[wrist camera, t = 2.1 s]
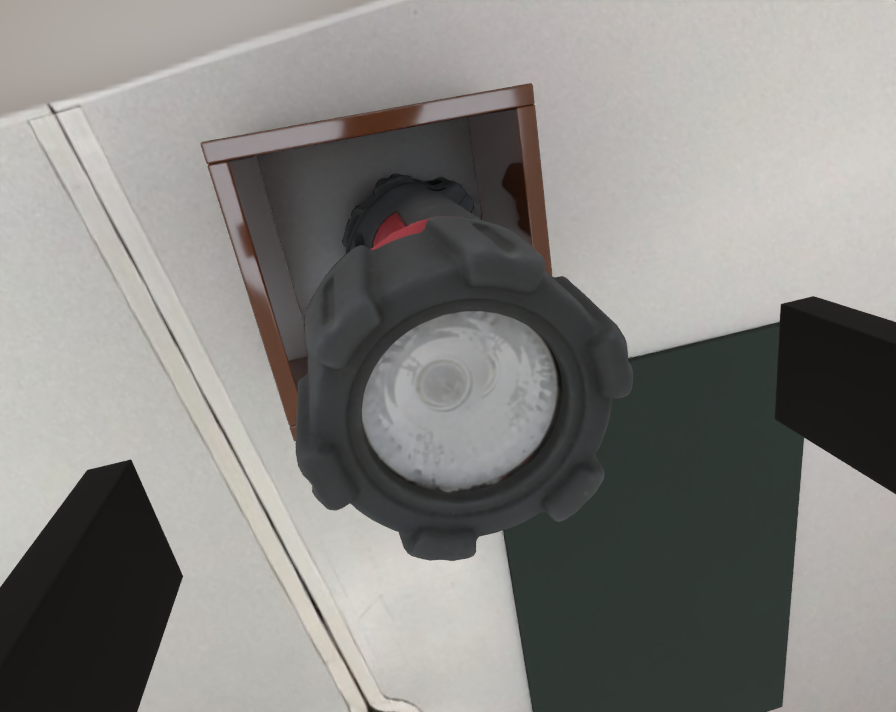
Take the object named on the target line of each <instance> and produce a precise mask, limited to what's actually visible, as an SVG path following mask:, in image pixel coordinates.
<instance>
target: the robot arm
mask: <svg viewBox="0 0 896 712" xmlns="http://www.w3.org/2000/svg"><path fill="white" fill-rule="evenodd" d="M775 420H777V421H778V422H780V423H782V424H783V425H785V426H786V427H788V428H790V429H791V430H793V431H795V432H796V433H798V434H799V435H801V436H803V437H804V438H806V439H807V440H809V441H811V442H812V443H814V444H816V445H817V446H819V447H820V448H822V449H824V450H825V451H827V452H828V453H830V454H832V455H833V456H835V457H837V458H838V459H840V460H841V461H843V462H845V463H846V464H848V465H849V466H851V467H853V468H854V469H856V470H858V471H859V472H861V473H862V474H864V475H866V476H867V477H869V478H870V479H872V480H874V481H875V482H877V483H879V484H880V485H882V486H883V487H885V488H887V489H888V490H890V491H892V492H893V493H895V494H896V322H894V321H891V320H887V319H884V318H881V317H878V316H875V315H871V314H868V313H865V312H862V311H859V310H856V309H852V308H849V307H846V306H843V305H840V304H837V303H833V302H830V301H827V300H824V299H821V298H817V297H814V296H813V297H809V298H805V299H800V300H796V301H792V302H788V303H784V304H781V312H780V330H779V349H778V368H777V386H776V405H775ZM182 578H183V575H182V573H181V570H180V568H179V566H178V564H177V561H176V559H175V557H174V555H173V553H172V550H171V548H170V546H169V544H168V541H167V539H166V537H165V535H164V532H163V530H162V528H161V526H160V523H159V521H158V519H157V517H156V514H155V512H154V510H153V508H152V505H151V503H150V501H149V499H148V496H147V494H146V492H145V490H144V487H143V485H142V483H141V481H140V478H139V476H138V474H137V472H136V469H135V467H134V465H133V463H132V460H127V461H123V462H119V463H115V464H111V465H107V466H102V467H98V468H94V469H90V470H87V471H86V472H85V474H84V475H83V477H82V478H81V479H80V481H79V482H78V483H77V485H76V486H75V487H74V489H73V490H72V491H71V493H70V494H69V495H68V497H67V498H66V499H65V501H64V502H63V503H62V505H61V506H60V508H59V509H58V510H57V512H56V513H55V514H54V516H53V517H52V518H51V520H50V521H49V522H48V524H47V525H46V526H45V528H44V529H43V530H42V532H41V533H40V534H39V536H38V537H37V538H36V540H35V541H34V543H33V544H32V545H31V547H30V548H29V549H28V551H27V552H26V553H25V555H24V556H23V557H22V559H21V560H20V561H19V563H18V564H17V565H16V567H15V568H14V569H13V571H12V572H11V574H10V575H9V576H8V578H7V579H6V580H5V582H4V583H3V584H2V586H1V587H0V712H137V711H138V708H139V705H140V702H141V699H142V696H143V693H144V690H145V687H146V684H147V681H148V678H149V675H150V672H151V669H152V666H153V663H154V660H155V657H156V654H157V652H158V649H159V646H160V643H161V640H162V637H163V634H164V631H165V628H166V625H167V622H168V619H169V616H170V613H171V610H172V607H173V604H174V601H175V598H176V595H177V592H178V590H179V587H180V584H181V581H182Z"/></svg>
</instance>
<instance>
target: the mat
mask: <svg viewBox="0 0 896 712" xmlns="http://www.w3.org/2000/svg"><path fill="white" fill-rule="evenodd" d="M779 330H780V323H775V324H771V325H767V326H763V327H759V328H755V329H751V330H747V331H742V332H738V333H734V334H730V335H726V336H722V337H718V338H714V339H709V340H705V341H701V342H697V343H693V344H689V345H685V346H680V347H676V348H672V349H668V350H664V351H660V352H656V353H652V354H647V355H643V356H639V357H635V358H631V359H628V362H629V363H630V365H631V366H632V369H633V385H632V389H631V391H630V393H629V394H628V395H627V396H625V397H623V398H618V399H615V398H612V406H611V413H610V418H609V421H608V425H607V429H606V432H605V434H604V437H603V440H602V442H601V445H600V447H599V449H598V450H597V452H596V454H595V455H596V456H597V458H598V460H599V462H600V463H601V465H602V467H603V469H604V479H603V481H602V483H601V485H600V486H599V488H598V489H597V491H596V492H595V493H594V495H593V496H592V497H591V498H590V499H589V500H587V501H586V502H585V503H584V504H583V506H582V507H581V508H580V509H579V510H578V511H577V512H576V513H575V514H573V515H572V516H570V517H568V518H567V519H565V520H563V521H560V522H557V521H554V520H553V519H552V518H551V517H550V515H549V514H548V513H546V512H540V513H538V514H537V515H535V516H533V517H532V518H530V519H528V520H527V521H525V522H523V523H520V524H518V525H516V526H514V527H511V528H508V529H505V530H503V531H504V538H505V544H506V550H507V556H508V562H509V568H510V574H511V580H512V586H513V593H514V599H515V605H516V611H517V617H518V623H519V629H520V635H521V641H522V648H523V654H524V660H525V666H526V672H527V678H528V684H529V690H530V696H531V703H532V709H533V712H767V711H770V710H774V709H777V708H780V707H782V703H783V691H784V678H785V666H786V654H787V641H788V629H789V616H790V604H791V592H792V579H793V567H794V555H795V542H796V530H797V517H798V505H799V493H800V480H801V468H802V456H803V443H804V437H803V436H801V435H799V434H798V433H796V432H795V431H793V430H791V429H790V428H788V427H786V426H785V425H783V424H782V423H780V422H778V421H777V420H775V405H776V386H777V368H778V349H779Z"/></svg>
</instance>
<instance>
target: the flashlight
mask: <svg viewBox="0 0 896 712" xmlns="http://www.w3.org/2000/svg"><path fill="white" fill-rule="evenodd" d="M473 207H474V201H473V199H472V198H471V197H470V196H469V195H468V193H467V192H466V191H465V189H464V188H463V187H462V185H460V184H459V183H457V182H454V181H450V180H447V179H445V178H443V177H439V178H437V179H434V180H432V181H428V182H422V181H420V180H417V179H414V178H412V177H411V176H408V175H401V174H397V173H396V174H391V175H390V176H389V177H388V178H386V179H385V178H382V179H380V180H379V181H378V182H377V183H376V187H375V190H374V193H373V194H372V195H371V196H370V197H369V198H368V199H367V201H366V202H365V203H364V204H363V205H362V206H356V207H355V208H354V209H353V210H352V214H351V218H350V219H349V220H348V222H347V226H346V230H345V234H344V237H343V240H342V243H343V245H344V246H345V247H346V255H345V256H344V257H343V258H342V259H341V260H340V261H339V262H338V263H337V264H336V265H335V266H334V267H333V268H332V269H331V270H330V271H329V273H328V274H327V275H326V276H325V278H324V279H323V281H322V282H321V284H320V286H319V287H318V289H317V291H316V293H315V294H314V296H313V298H312V300H311V302H310V304H309V306H308V309H307V311H306V314H305V339H306V347H307V351H308V373H307V374H306V375H305V376H304V377H302V378H300V380H299V382H298V397H297V417H296V456H297V462H298V466H299V468H300V470H301V472H302V474H303V475H304V476H305V478H306V479H307V480H308V481H309V482H310V483H311V484H312V492H313V494H314V496H315V497H316V498H317V499H318V500H319V501H320V502H321V503H322V504H323V505H324V506H325V507H326V508H327V509H329V510H339V509H341V508H343V507H345V506H346V505H348V504H350V503H351V504H352V505H353V506H354V507H355V508H356V509H357V510H359V511H360V512H361V513H363V514H364V515H366V516H367V517H369V518H370V519H372V520H374V521H376V522H378V523H380V524H382V525H384V526H386V527H388V528H390V529H392V530H395V531H398V532H399V534H400V537H401V540H402V543H403V546H404V549H405V550H406V551H407V553H408V554H410V555H411V556H413V557H417V558H421V559H426V560H449V561H455V560H460V559H466V558H470V557H472V556H474V554H475V553H476V540H477V538H478V537H479V536H483V535H488V534H492V533H495V532H498V531H502V530H505V529H508V528H511V527H514V526H516V525H518V524H520V523H523V522H525V521H527V520H528V519H530V518H532V517H533V516H535V515H537V514H538V513H540V512H546V513H548V514H549V515H550V517H551V518H552V519H553V520H554V521H557V522H560V521H563V520H565V519H567V518H568V517H570V516H572V515H573V514H575V513H576V512H577V511H578V510H579V509H580V508H581V507H582V506H583V504H584V503H585V502H586V501H587V500H589V499H590V498H591V497H592V496H593V495H594V493H595V492H596V491H597V489H598V488H599V486H600V485H601V483H602V481H603V479H604V469H603V467H602V465H601V463H600V462H599V460H598V458H597V456H596V455H595V454H596V452H597V450H598V449H599V447H600V445H601V442H602V440H603V437H604V434H605V432H606V429H607V425H608V421H609V418H610V413H611V406H612V398H615V399H618V398H623V397H625V396H627V395H628V394H629V393H630V391H631V389H632V385H633V369H632V366H631V365H630V363H629V362H628V350H627V343H626V340H625V337H624V336H623V334H622V332H621V331H620V329H619V328H618V326H617V325H616V324H615V323H614V322H613V321H612V320H611V319H610V318H609V317H608V316H607V315H606V314H604V313H603V312H602V311H601V310H600V309H599V308H598V307H597V306H596V305H595V304H594V303H593V302H592V301H591V300H590V299H589V298H588V297H587V296H586V295H585V294H583V293H582V292H581V291H580V290H579V289H578V288H577V287H576V286H574V285H573V284H572V283H571V282H570V281H569V280H568V279H567V278H565V277H563V276H562V277H556V278H555V277H552V276H551V275H550V274H549V273H548V272H547V271H546V264H545V260H544V258H543V257H542V255H541V254H540V253H538V252H537V251H536V250H535V249H534V248H533V247H532V246H531V245H530V244H529V243H527V242H526V241H525V240H523V239H522V238H521V237H520V236H518V235H517V234H516V233H514V232H513V231H511V230H509V229H506V228H504V227H502V226H499V225H496V224H492V223H489V222H485V221H481V220H480V219H479V218H477V217H476V216H474V215H473V214H471V212H472V210H473Z"/></svg>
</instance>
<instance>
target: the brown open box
mask: <svg viewBox="0 0 896 712" xmlns="http://www.w3.org/2000/svg"><path fill="white" fill-rule="evenodd" d="M533 104H534V93H533V85H532V84H531V83H529V84H524V85H518V86H512V87H507V88H501V89H496V90H490V91H484V92H479V93H473V94H468V95H462V96H456V97H451V98H445V99H440V100H434V101H429V102H423V103H417V104H412V105H406V106H401V107H395V108H389V109H384V110H378V111H373V112H367V113H361V114H356V115H350V116H345V117H339V118H333V119H328V120H322V121H317V122H311V123H305V124H300V125H294V126H289V127H283V128H277V129H272V130H266V131H261V132H255V133H249V134H244V135H238V136H233V137H227V138H222V139H216V140H210V141H205V142H201V147H202V151H203V154H204V157H205V160H206V163H207V164H209V165H208V169H209V173H210V176H211V179H212V182H213V185H214V189H215V192H216V195H217V198H218V201H219V204H220V208H221V211H222V214H223V217H224V220H225V224H226V227H227V230H228V233H229V236H230V239H231V243H232V246H233V249H234V252H235V255H236V258H237V262H238V265H239V268H240V271H241V274H242V278H243V281H244V284H245V287H246V290H247V293H248V297H249V300H250V303H251V306H252V309H253V312H254V316H255V319H256V322H257V325H258V328H259V332H260V335H261V338H262V341H263V344H264V347H265V351H266V354H267V357H268V360H269V363H270V366H271V370H272V373H273V376H274V379H275V382H276V386H277V389H278V392H279V395H280V398H281V401H282V405H283V408H284V411H285V414H286V417H287V420H288V424H289V425H290V430H291V433H292V437H293V440H294V441H296V417H297V397H298V382H299V380H300V378H302V377H304V376H305V375H306V374H307V373H308V351H307V347H306V339H305V327H304V324H303V320H302V317H301V313H300V310H299V306H298V303H297V299H296V296H295V292H294V288H293V285H292V281H291V278H290V274H289V271H288V267H287V264H286V260H285V256H284V253H283V249H282V246H281V242H280V239H279V235H278V232H277V228H276V225H275V221H274V217H273V214H272V210H271V207H270V203H269V200H268V196H267V193H266V189H265V186H264V182H263V178H262V175H261V171H260V168H259V164H258V161H257V157H256V155H262V154H267V153H272V152H278V151H283V150H289V149H294V148H300V147H305V146H311V145H316V144H322V143H327V142H332V141H338V140H343V139H349V138H354V137H360V136H365V135H371V134H376V133H382V132H387V131H392V130H398V129H403V128H409V127H414V126H420V125H425V124H431V123H436V122H442V121H447V120H452V119H458V118H463V117H468V123H469V130H470V137H471V144H472V151H473V158H474V165H475V172H476V179H477V186H478V193H479V200H480V207H481V214H482V220H483V221H485V222H489V223H492V224H496V225H499V226H502V227H504V228H506V229H509V230H511V231H513V232H514V233H516V234H517V235H518V236H520V237H521V238H522V239H523V240H525V241H526V242H527V243H529V244H530V245H531V246H532V247H533V248H534V249H535V250H536V251H537V252H538V253H540V254H541V255H542V257H543V258H544V260H545V264H546V271H547V272H548V273H549V274H550V275H551V276H552V269H551V259H550V249H549V239H548V229H547V219H546V209H545V200H544V190H543V180H542V170H541V160H540V150H539V140H538V130H537V121H536V111H535V105H533Z"/></svg>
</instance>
